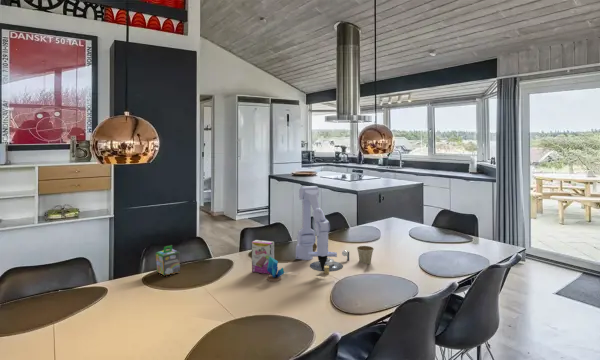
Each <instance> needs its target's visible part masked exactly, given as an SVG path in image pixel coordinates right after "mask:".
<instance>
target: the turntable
mask: <svg viewBox="0 0 600 360" xmlns="http://www.w3.org/2000/svg"><path fill="white" fill-rule="evenodd" d="M309 268H310V269H312V270H314V271H318V272H323V273H324V274H330V272H336V271H340V270H342V269H343V268H344V264H343V263H340V262H338V261H335V260H334V267H332V268H329V266H324V269H323V271H322V268H321V267H320V266H319V260H317V261H313V262H311V263H310V264H309Z"/></svg>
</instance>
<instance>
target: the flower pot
mask: <svg viewBox="0 0 600 360" xmlns="http://www.w3.org/2000/svg"><path fill="white" fill-rule="evenodd" d="M374 249H375V247H373V246H369V245H360V246H357V247H356V250H357V253H358V260H359V263H362V264H367V265H371V263H372V256H373V252H374Z"/></svg>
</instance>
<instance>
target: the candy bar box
mask: <svg viewBox="0 0 600 360" xmlns="http://www.w3.org/2000/svg"><path fill="white" fill-rule="evenodd" d="M269 257H272V258H273V259H275V241H270V240H260V239H254V240H253V241H251V273H258V274H266V275H271V274H270V273H269V272H268V271H267V266H268V260H269Z"/></svg>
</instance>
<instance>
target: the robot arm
mask: <svg viewBox="0 0 600 360" xmlns="http://www.w3.org/2000/svg"><path fill="white" fill-rule="evenodd" d="M298 192H299V193H298V194H299V195H298V196H299V197H298V198H299V200H300V201H301V203H302V204H301V205H302V206H301V210H302V211H301V217H302V219H301V221H302V222H301V223H302V224H301V225H302V228H300V229H299V230H298V231H297V235H296V241H297V244H296V245H295V260H303V261H310V260H313V259H314V258H315V257H317V261H319V262H320V264H321V268H322V271H321V272H324V271H323V269H324V265H325V263H326V261H327V258H330V257H331V258H332V257H334V258H338V253H337V252H335V251H334V252H333V251H329V233H330V231H331V224H330V221H329V220H328V219H327V218H326V216H325V213H324V211H323V209H322V208H321V207H320V202H319V195H320V189H319V187H318V186H317V185H310V186H309V185H306V186H300V188H299V191H298ZM311 209H312V210H313V211H312V210H311ZM311 213H312V214H311ZM312 217H313V220H314V223H315V224H314V229H315V230H314V229H312V228H311V227H312V223H311V221H312V219H311V218H312ZM315 243H316V251H314V250H313V249H314V248H313V247H314V244H315Z"/></svg>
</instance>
